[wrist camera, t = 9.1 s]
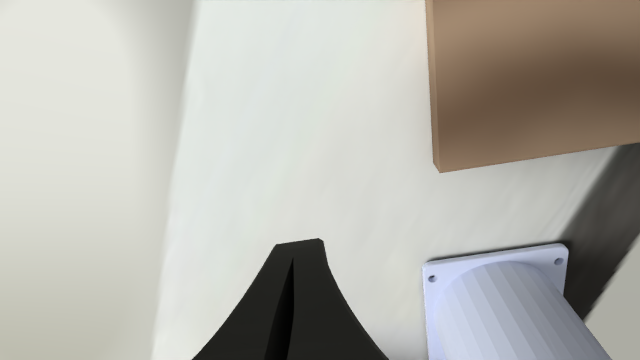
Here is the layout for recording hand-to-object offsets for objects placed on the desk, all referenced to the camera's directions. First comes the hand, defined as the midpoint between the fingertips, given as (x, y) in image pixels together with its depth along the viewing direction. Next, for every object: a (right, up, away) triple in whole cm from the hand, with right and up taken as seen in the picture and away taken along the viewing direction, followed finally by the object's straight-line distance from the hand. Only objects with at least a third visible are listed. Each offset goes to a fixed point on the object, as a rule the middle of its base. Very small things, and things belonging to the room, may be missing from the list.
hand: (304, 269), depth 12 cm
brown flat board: (+12, +12, +4) cm, 18 cm away
